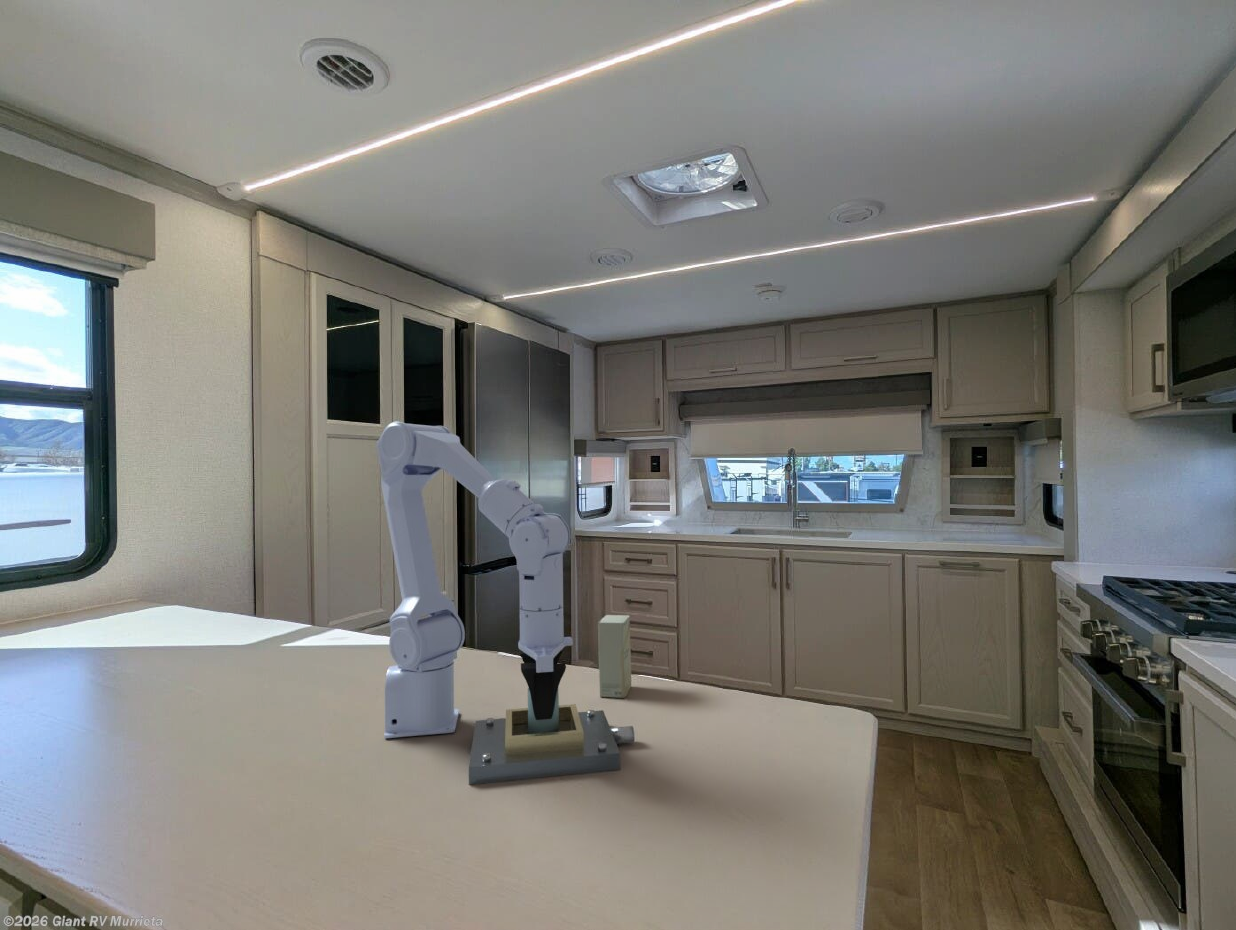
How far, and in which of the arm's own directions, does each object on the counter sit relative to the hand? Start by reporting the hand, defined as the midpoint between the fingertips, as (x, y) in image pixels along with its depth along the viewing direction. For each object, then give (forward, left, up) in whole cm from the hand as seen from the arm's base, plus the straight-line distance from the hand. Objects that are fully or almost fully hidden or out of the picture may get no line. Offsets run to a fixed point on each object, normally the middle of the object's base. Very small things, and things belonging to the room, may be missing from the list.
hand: (542, 711), depth 79 cm
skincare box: (+13, +20, -5) cm, 24 cm away
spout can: (0, 0, -3) cm, 3 cm away
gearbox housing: (+2, 0, -5) cm, 5 cm away
